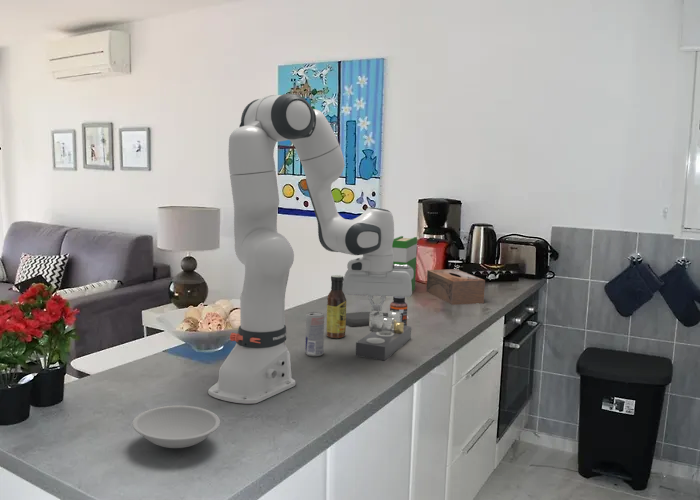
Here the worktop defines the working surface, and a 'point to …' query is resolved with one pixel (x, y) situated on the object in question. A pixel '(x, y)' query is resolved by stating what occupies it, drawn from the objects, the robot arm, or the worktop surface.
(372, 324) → the knob near
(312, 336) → the energy drink
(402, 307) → the supplement bottle
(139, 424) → the dish
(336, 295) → the sauce bottle
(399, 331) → the brass dome cylinder
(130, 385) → the worktop surface
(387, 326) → the knob mid
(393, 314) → the knob far
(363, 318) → the spray bottle
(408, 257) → the hardback book
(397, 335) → the mount
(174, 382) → the worktop surface
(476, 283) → the tissue box cover
